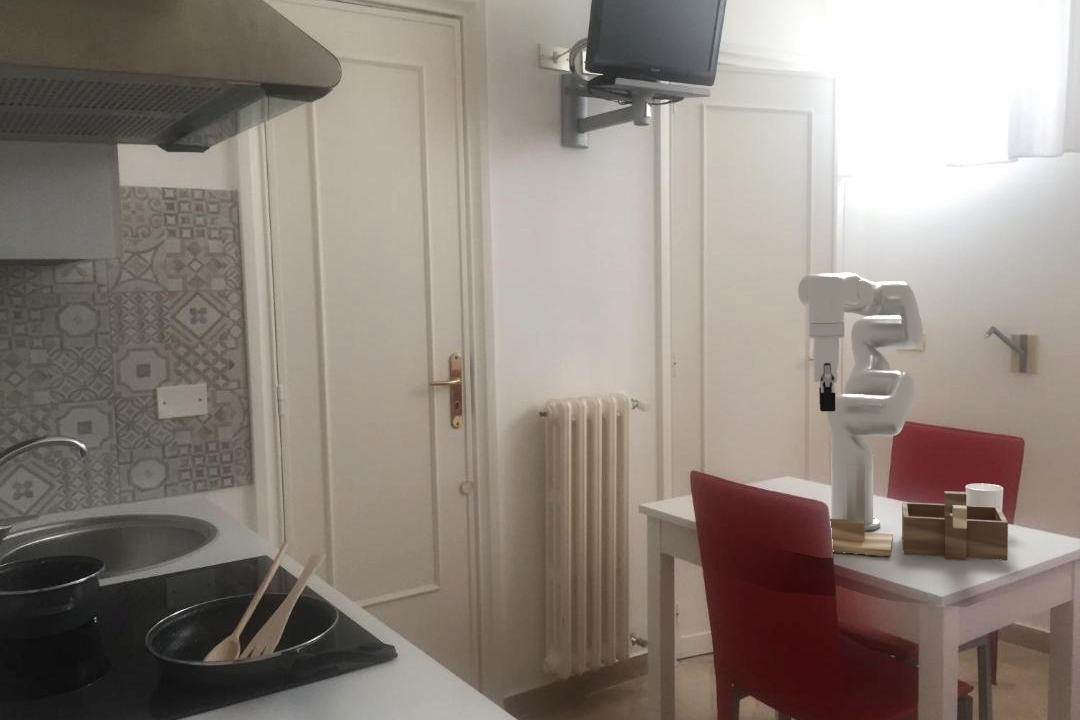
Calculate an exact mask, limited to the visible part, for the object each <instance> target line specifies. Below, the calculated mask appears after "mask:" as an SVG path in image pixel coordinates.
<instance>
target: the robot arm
mask: <svg viewBox="0 0 1080 720" xmlns="http://www.w3.org/2000/svg"><path fill="white" fill-rule="evenodd" d="M797 293H798V298H799V300H800V302H801V304H802V305H803V306H804V307H806V308H808V338H809V339H813V351H812V352H813V382H814V383H815V384H818V382H820V383H819V384H820V387H819V410H820V411H821V412H826V418H827V424H828V430H829V436H830V461H831V462H830V469H831V470H830V477H831V478H830V480H831V481H830V482H831V483H830V484H831V485H830V487H831V491H830V492H831V494H830V495H831V496H830V497H831V499H830V501H831V507H830V509H831V514H830V515H831V519H846V520H861V521H865V532H868V531H872V530H876V529H879V528H880V526H881V520H879V519H878V518H876V517H874V454H873V449H872V448H871V446H870V444H869V442H868V441H867V440H866V438H865V437H864V436H875V437H876V436H878V437H879V436H880V437H895V436H897V435H899V434H900V433H901V431H902V430H903V427H904V426H905V424H906V421H907V419H908V415H909V413H910V410H911V407H912V405H913V402H914V397H915V383H914V379H913V377H912V375H911V374H910V373H909V372H907V371H905V370H902V369H891V365H890V363H889V361H888V359H886V358H887V357H885V356H884V355H883V353H882V352H880V351H879V350H913V349H916V348H918V347H919V346H920V345H921V343H922V341H923V337H924V331H923V330H924V329H923V323H922V319H921V315H920V312H919V306H918V303H917V299H916V296H915V293H914V290H913V289H912V287H911V286H910V285H909V284H908V283H907V282H905V281H877V282H875V281H871V280H868V279H865V278H863V277H860V275H858V274H856V273H852V272H840V273H839V272H837V273H836V272H835V273H830V272H829V273H810V274H806V275H804V276H803V277H802V278H801V279H800V281H799V283H798V287H797ZM845 313H851V314H856V315H860V316H862V317H861V318H859V319H857V320H856V321H855V322H854V323H853V325H852V327H851V334H850V335H851V337H850V339H851V350H852V354H853V359H854V365H853V367H852V369H851V372H850V374H849V375H848V378H847V381H846V383H845V386H844V389H843V390H844V391H843V392H844V393H841V394H837V395H836V392H835V383H837V382H838V374H839V362H840V361H839V359H840V356H839V354H840V352H839V351H840V340H839V339H842V338H845ZM863 316H864V317H863Z"/></svg>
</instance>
